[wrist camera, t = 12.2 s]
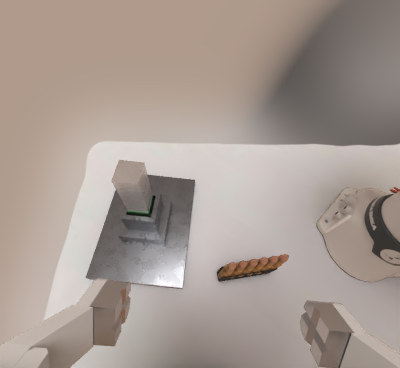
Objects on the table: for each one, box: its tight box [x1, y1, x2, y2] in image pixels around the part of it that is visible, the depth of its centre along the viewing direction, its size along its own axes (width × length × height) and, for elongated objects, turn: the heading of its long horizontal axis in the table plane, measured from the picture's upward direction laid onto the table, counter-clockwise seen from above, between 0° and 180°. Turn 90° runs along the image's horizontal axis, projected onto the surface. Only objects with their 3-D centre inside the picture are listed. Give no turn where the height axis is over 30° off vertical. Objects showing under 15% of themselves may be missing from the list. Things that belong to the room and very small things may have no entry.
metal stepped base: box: [86, 175, 195, 289], centre depth 43 cm, size 24×18×10 cm
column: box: [112, 160, 154, 217], centre depth 36 cm, size 4×4×14 cm
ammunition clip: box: [217, 254, 289, 281], centre depth 38 cm, size 11×2×12 cm, turn 99°
